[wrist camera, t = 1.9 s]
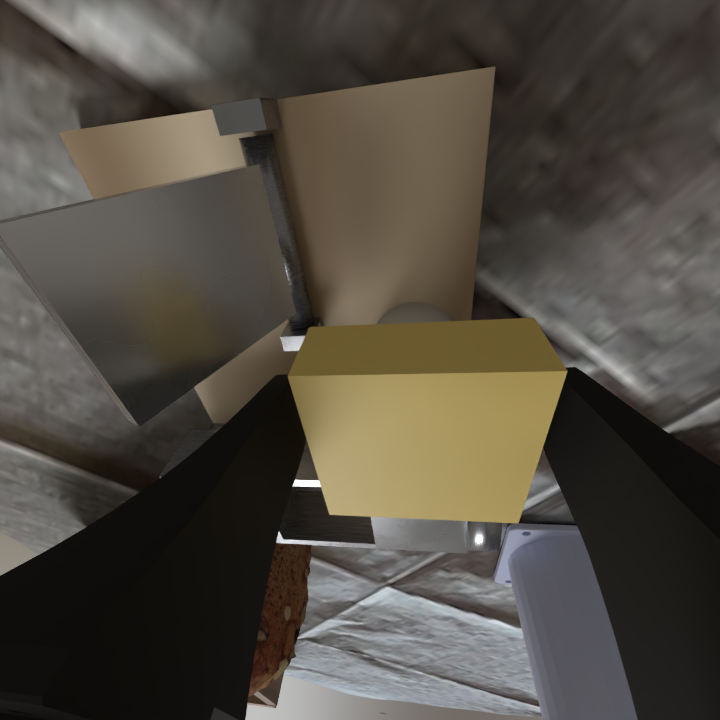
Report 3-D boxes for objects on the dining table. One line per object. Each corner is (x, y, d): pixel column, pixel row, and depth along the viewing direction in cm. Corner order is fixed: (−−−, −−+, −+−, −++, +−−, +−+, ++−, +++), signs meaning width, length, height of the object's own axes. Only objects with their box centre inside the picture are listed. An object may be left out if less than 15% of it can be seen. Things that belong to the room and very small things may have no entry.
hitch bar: (521, 64, 8) (648, 14, 4) (469, 462, 18) (491, 575, 13) (79, 131, 10) (-155, 145, 6) (243, 459, 20) (198, 557, 15)
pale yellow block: (499, 263, 11) (567, 370, 6) (481, 391, 14) (518, 523, 9) (332, 274, 11) (287, 375, 7) (352, 392, 14) (329, 514, 10)
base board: (488, 69, 8) (495, 66, 8) (453, 473, 18) (455, 486, 18) (79, 131, 10) (58, 132, 10) (248, 469, 20) (243, 481, 20)
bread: (221, 460, 20) (104, 686, 12) (326, 540, 25) (291, 740, 17) (72, 522, 28) (-61, 688, 20) (175, 574, 33) (102, 724, 25)
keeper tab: (256, 135, 9) (280, 132, 9) (299, 314, 13) (318, 318, 12) (-53, 181, 5) (-34, 180, 5) (135, 434, 8) (156, 446, 8)
